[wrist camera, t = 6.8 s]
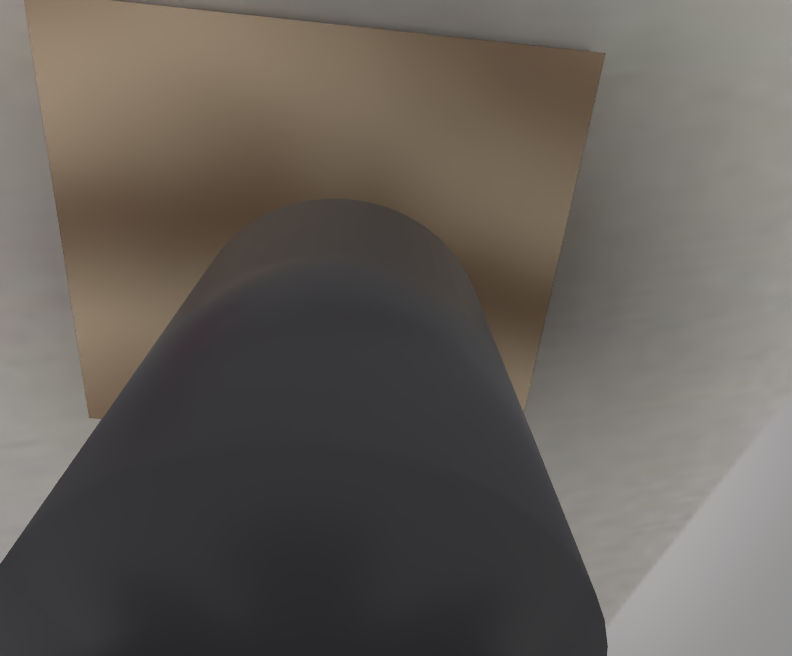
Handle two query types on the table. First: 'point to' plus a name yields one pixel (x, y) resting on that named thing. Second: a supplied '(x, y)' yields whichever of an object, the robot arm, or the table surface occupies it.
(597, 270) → the table surface
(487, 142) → the cork mat
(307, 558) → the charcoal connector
